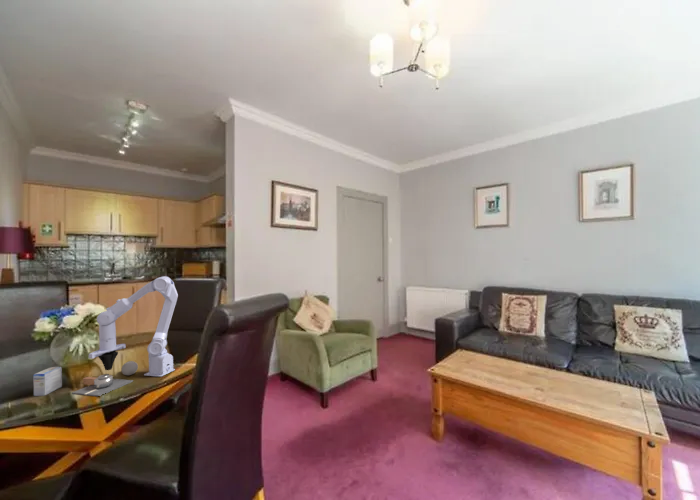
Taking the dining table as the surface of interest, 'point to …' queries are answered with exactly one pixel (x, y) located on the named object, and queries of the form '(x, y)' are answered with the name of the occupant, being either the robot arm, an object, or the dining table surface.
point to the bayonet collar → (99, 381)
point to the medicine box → (47, 381)
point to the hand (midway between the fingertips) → (108, 369)
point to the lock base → (99, 391)
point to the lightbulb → (129, 368)
